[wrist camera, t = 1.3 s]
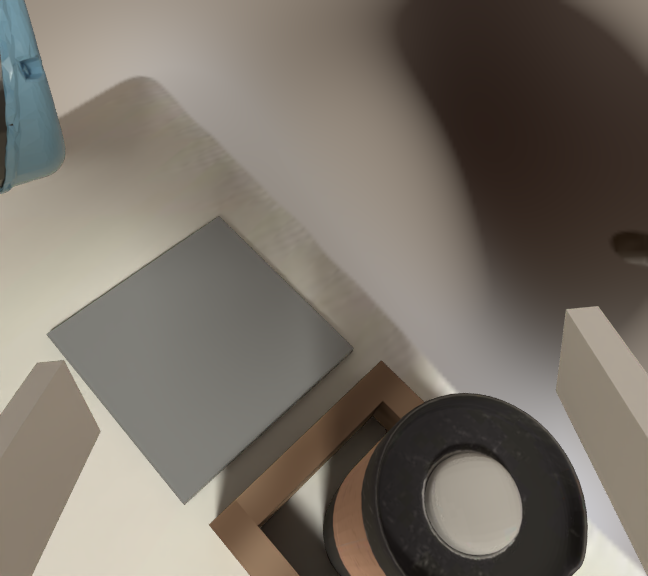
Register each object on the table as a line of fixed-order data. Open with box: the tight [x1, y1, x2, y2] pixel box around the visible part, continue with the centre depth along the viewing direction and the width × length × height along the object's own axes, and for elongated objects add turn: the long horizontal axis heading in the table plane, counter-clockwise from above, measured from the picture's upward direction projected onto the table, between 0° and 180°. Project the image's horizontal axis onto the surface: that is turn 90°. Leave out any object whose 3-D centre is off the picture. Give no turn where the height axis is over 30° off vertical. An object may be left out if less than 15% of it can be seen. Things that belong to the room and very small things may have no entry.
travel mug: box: [323, 393, 588, 576], centre depth 27 cm, size 8×8×20 cm
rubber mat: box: [47, 216, 354, 505], centre depth 40 cm, size 16×16×1 cm
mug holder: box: [209, 361, 424, 576], centre depth 34 cm, size 15×15×4 cm
